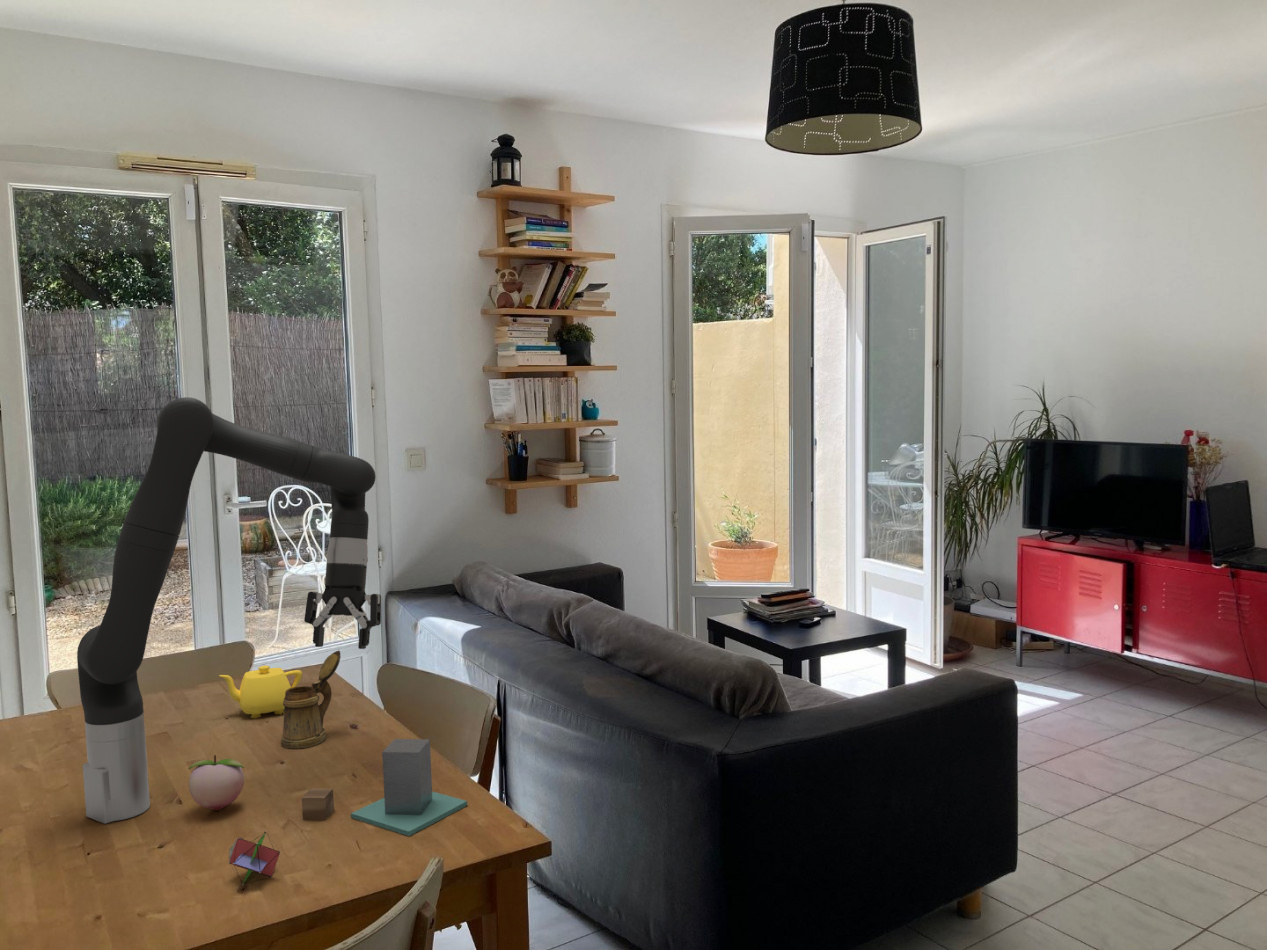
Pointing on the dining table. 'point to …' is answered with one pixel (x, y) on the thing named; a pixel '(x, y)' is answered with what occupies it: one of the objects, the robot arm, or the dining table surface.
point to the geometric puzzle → (253, 857)
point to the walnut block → (317, 804)
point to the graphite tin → (407, 776)
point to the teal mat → (409, 823)
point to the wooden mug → (308, 709)
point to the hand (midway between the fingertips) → (340, 647)
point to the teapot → (262, 690)
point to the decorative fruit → (216, 782)
